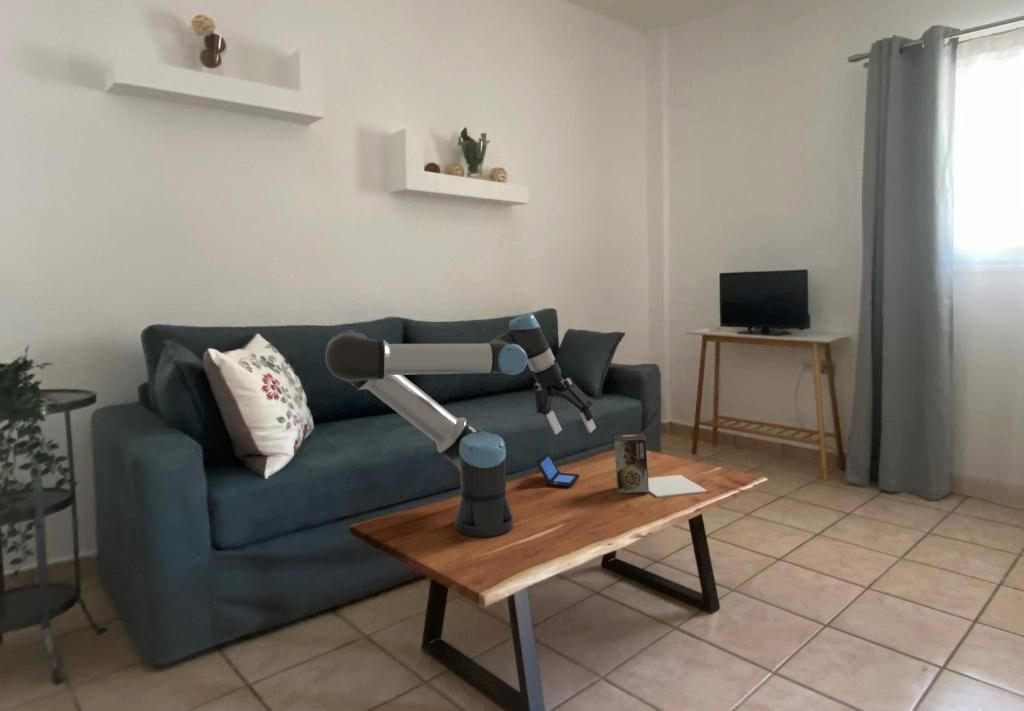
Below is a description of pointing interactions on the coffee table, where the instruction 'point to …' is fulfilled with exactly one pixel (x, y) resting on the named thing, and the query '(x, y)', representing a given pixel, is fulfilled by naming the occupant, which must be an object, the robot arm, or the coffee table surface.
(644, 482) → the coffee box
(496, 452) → the robot arm
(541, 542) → the coffee table surface
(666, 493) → the felt mat
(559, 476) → the handheld game console
